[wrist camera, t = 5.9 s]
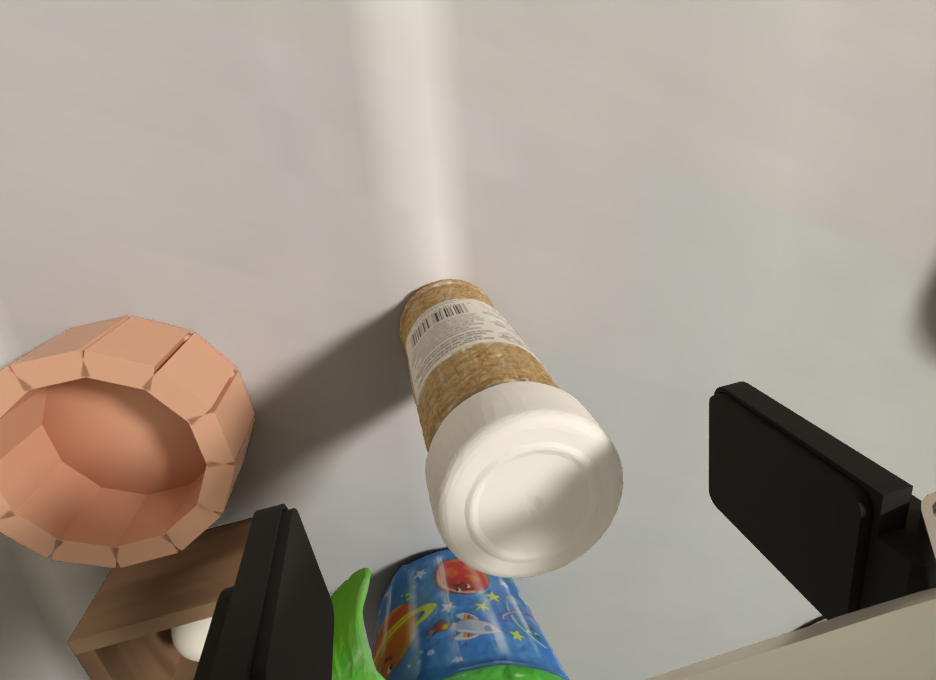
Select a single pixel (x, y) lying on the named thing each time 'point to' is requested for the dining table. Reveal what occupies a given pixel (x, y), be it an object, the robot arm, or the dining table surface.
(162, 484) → the pot
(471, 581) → the snack cup
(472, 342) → the sprinkles bottle
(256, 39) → the dining table surface
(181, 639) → the ball
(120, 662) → the walnut box
